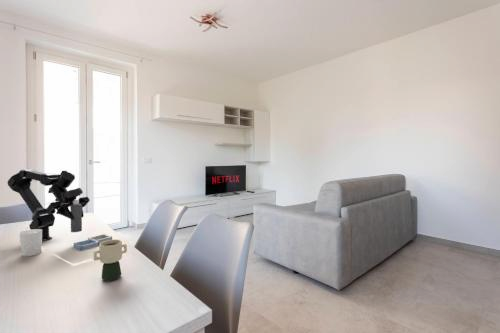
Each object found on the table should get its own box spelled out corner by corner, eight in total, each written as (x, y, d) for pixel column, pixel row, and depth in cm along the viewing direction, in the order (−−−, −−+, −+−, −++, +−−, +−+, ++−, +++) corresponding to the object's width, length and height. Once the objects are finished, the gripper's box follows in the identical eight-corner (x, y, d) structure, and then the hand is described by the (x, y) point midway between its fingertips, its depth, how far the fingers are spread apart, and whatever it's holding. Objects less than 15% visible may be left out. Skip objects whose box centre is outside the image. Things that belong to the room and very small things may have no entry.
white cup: (30, 257, 113) (28, 234, 112) (15, 256, 114) (14, 233, 114) (47, 251, 120) (46, 229, 120) (33, 249, 122) (32, 228, 122)
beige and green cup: (123, 270, 100) (122, 236, 100) (131, 276, 95) (130, 241, 94) (91, 280, 92) (90, 243, 92) (97, 287, 87) (96, 249, 87)
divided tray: (71, 247, 125) (70, 242, 125) (104, 238, 138) (104, 233, 138) (81, 251, 119) (81, 246, 119) (115, 242, 132) (114, 237, 132)
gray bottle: (70, 230, 129) (69, 200, 128) (80, 229, 132) (80, 199, 131) (72, 232, 126) (71, 201, 125) (82, 231, 129) (82, 200, 128)
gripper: (49, 185, 120) (67, 211, 117) (86, 181, 138) (103, 203, 135) (38, 201, 123) (55, 227, 120) (76, 195, 141) (92, 217, 138)
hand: (78, 218), depth 128 cm, fingers closed on gray bottle, 4 cm apart
